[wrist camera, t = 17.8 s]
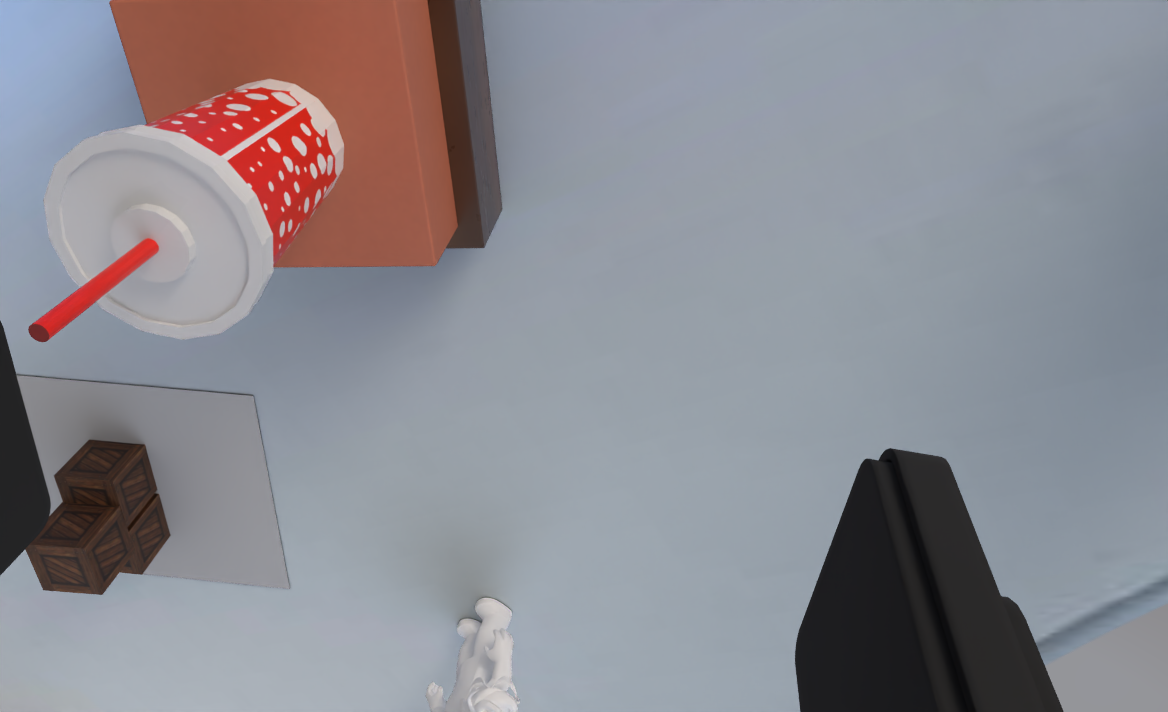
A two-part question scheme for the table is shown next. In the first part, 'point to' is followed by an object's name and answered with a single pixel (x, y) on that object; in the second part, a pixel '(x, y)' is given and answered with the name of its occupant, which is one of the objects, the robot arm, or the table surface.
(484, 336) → the table surface
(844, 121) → the table surface
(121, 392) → the stack of crates
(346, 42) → the stack top
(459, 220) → the stack base
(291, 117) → the beverage cup
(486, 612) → the flower shoulder figurine
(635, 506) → the table surface
